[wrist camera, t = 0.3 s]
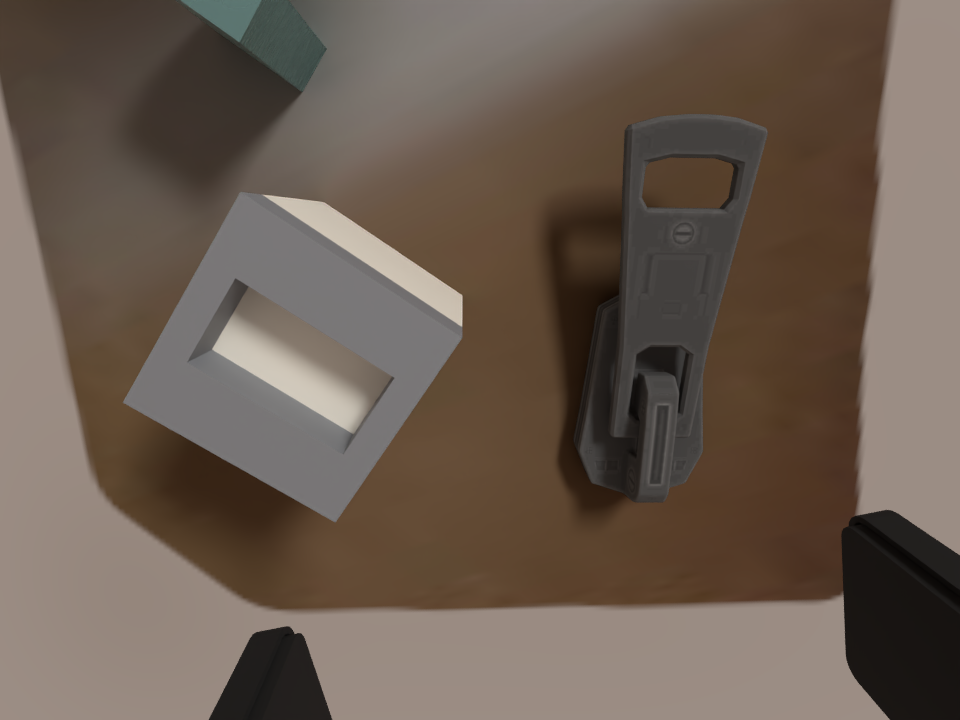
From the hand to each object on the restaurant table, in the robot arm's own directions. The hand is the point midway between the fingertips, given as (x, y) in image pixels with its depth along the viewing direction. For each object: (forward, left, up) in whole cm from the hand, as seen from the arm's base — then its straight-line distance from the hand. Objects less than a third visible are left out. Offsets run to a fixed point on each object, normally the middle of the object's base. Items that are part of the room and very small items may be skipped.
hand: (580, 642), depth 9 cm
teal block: (-7, -21, -30) cm, 37 cm away
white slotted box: (+5, -8, -30) cm, 32 cm away
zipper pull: (-6, +9, -30) cm, 32 cm away
